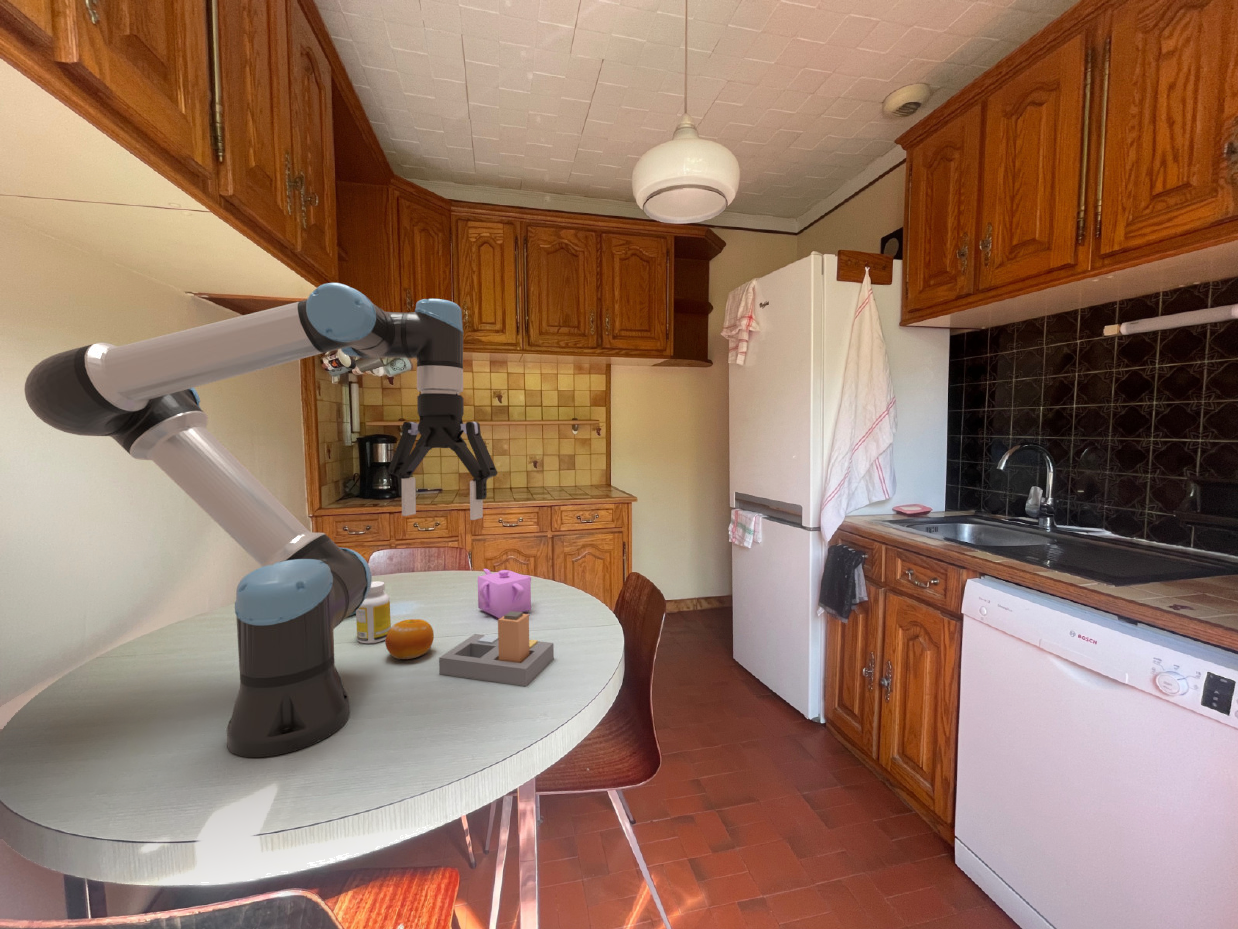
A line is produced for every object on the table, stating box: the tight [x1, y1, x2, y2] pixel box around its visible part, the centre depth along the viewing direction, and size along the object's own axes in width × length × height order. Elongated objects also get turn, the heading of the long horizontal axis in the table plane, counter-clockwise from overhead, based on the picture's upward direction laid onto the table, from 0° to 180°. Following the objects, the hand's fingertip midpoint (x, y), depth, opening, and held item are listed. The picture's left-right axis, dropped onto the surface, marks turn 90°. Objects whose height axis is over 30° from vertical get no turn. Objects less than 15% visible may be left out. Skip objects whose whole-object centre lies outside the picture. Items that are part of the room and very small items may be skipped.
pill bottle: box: [355, 580, 392, 644], centre depth 109 cm, size 6×6×12 cm
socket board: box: [438, 633, 555, 687], centre depth 96 cm, size 12×17×3 cm
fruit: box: [384, 618, 435, 660], centre depth 101 cm, size 8×9×8 cm
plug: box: [497, 611, 530, 663], centre depth 93 cm, size 4×4×11 cm
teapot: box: [477, 568, 532, 619], centre depth 126 cm, size 18×14×10 cm
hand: (442, 517), depth 91 cm, fingers open, 13 cm apart
